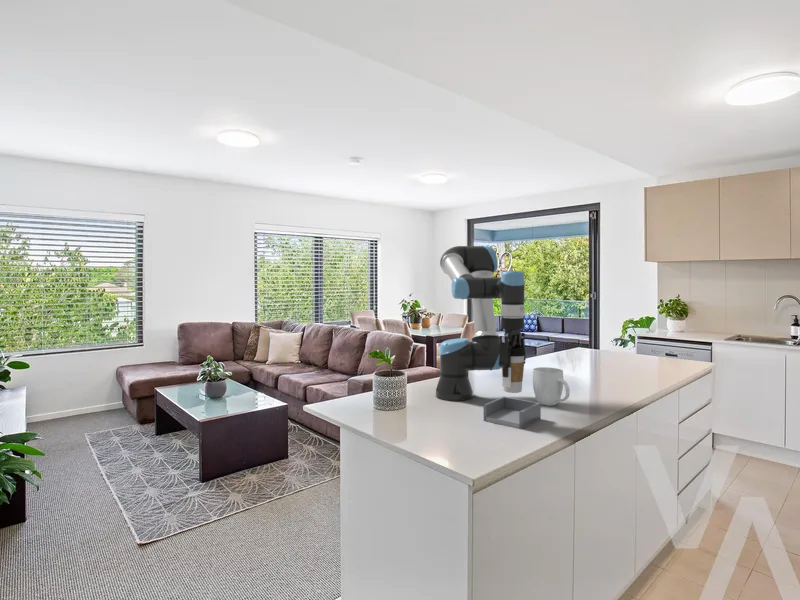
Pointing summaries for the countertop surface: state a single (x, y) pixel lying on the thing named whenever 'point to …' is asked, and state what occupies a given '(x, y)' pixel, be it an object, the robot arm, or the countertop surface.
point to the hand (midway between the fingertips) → (512, 384)
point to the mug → (549, 385)
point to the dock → (512, 412)
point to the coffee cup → (516, 370)
